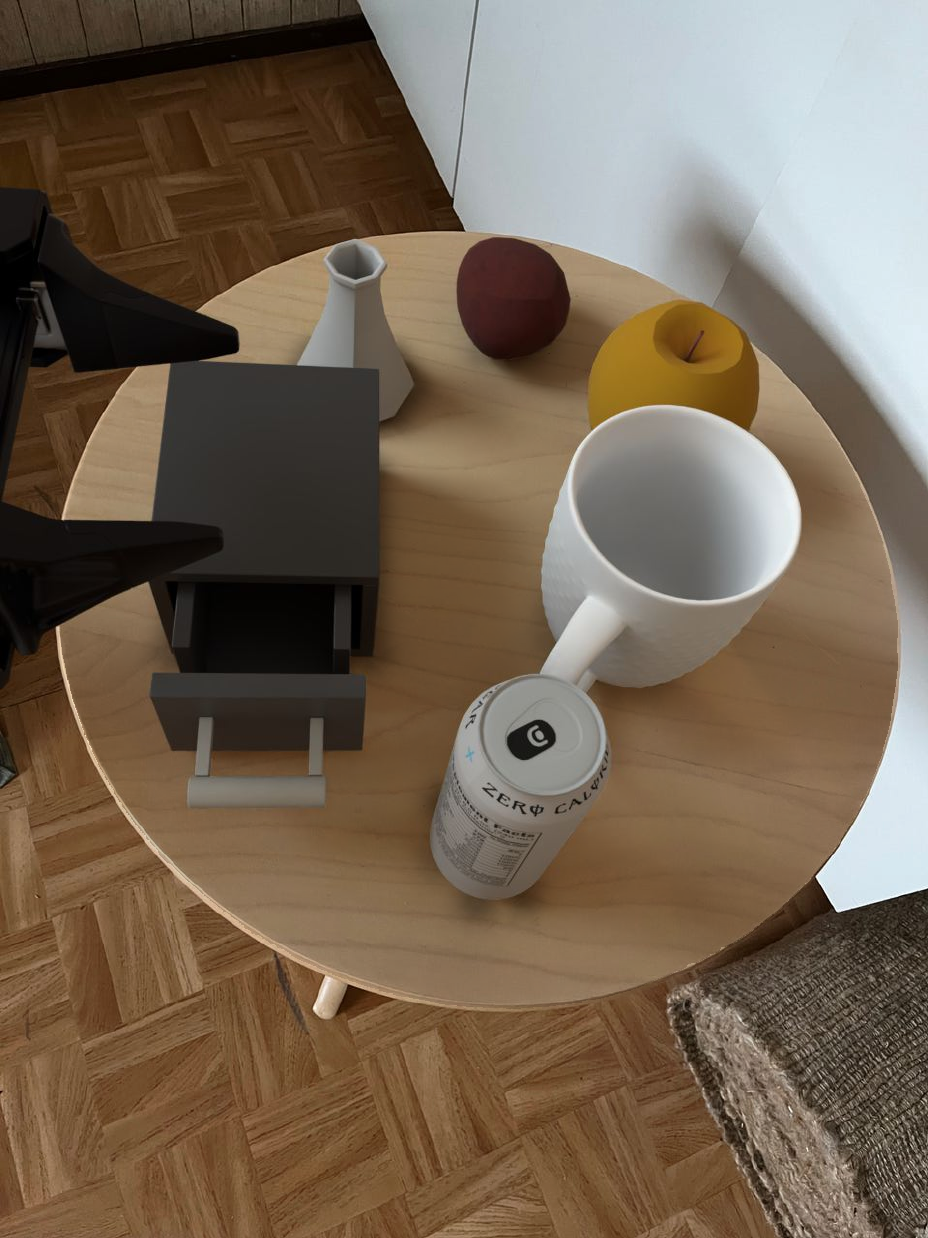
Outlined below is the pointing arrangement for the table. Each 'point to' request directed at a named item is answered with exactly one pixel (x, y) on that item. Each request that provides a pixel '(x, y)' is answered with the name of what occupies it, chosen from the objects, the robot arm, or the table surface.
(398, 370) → the flask
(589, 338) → the table surface
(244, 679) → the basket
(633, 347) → the apple
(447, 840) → the energy drink can
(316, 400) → the dark grey open box
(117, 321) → the robot arm
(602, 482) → the mug
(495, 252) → the potato
